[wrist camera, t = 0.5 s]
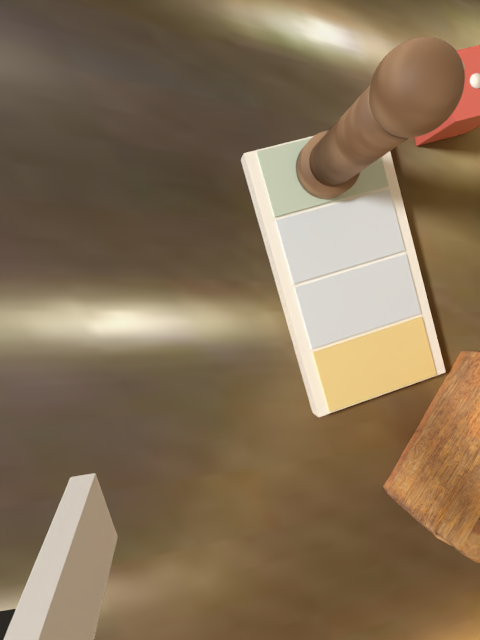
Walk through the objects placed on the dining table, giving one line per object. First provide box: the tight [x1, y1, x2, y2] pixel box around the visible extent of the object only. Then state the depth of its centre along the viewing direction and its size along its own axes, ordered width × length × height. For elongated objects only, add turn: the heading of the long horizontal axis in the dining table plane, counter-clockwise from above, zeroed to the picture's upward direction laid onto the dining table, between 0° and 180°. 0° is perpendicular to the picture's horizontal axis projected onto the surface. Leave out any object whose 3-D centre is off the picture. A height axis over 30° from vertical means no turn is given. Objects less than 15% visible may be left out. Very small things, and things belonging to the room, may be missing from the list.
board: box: [241, 136, 446, 417], centre depth 35 cm, size 22×12×2 cm, turn 17°
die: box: [415, 45, 480, 146], centre depth 34 cm, size 5×5×5 cm
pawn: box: [296, 37, 465, 199], centre depth 26 cm, size 5×5×15 cm
